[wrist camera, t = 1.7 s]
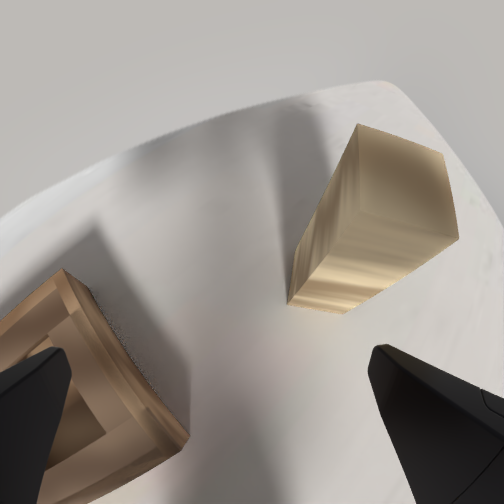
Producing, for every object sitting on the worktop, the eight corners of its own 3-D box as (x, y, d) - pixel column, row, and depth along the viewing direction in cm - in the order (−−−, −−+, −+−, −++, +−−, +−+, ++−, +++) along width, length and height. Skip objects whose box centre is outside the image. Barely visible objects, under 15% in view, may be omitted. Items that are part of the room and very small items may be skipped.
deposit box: (190, 436, 18) (180, 450, 14) (68, 505, 14) (43, 522, 10) (87, 286, 22) (61, 268, 18) (-12, 369, 18) (-43, 364, 14)
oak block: (342, 314, 23) (459, 238, 10) (287, 304, 23) (359, 210, 10) (347, 261, 24) (442, 153, 12) (294, 250, 24) (357, 123, 12)
